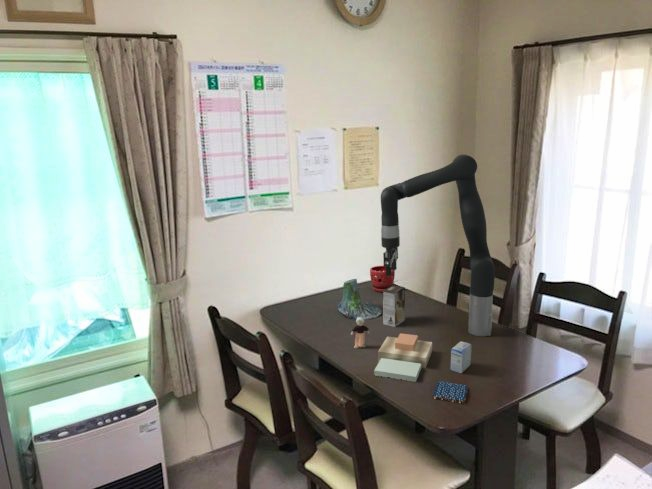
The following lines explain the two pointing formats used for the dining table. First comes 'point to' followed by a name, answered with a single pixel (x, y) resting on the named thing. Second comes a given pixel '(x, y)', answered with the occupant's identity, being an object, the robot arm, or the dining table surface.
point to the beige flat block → (406, 352)
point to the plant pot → (381, 278)
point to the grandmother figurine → (360, 333)
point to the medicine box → (460, 357)
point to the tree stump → (356, 303)
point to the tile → (406, 342)
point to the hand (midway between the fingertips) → (391, 272)
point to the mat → (398, 369)
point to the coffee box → (393, 305)
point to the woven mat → (450, 392)
